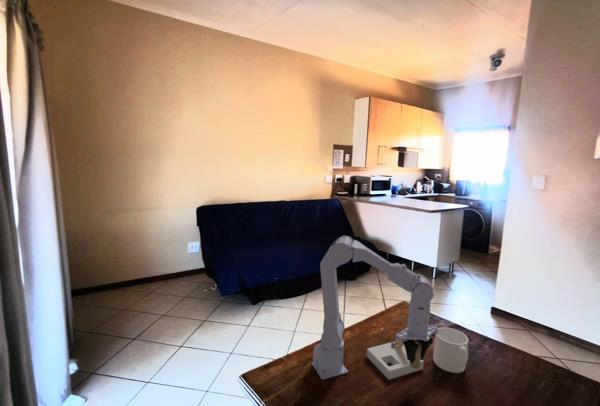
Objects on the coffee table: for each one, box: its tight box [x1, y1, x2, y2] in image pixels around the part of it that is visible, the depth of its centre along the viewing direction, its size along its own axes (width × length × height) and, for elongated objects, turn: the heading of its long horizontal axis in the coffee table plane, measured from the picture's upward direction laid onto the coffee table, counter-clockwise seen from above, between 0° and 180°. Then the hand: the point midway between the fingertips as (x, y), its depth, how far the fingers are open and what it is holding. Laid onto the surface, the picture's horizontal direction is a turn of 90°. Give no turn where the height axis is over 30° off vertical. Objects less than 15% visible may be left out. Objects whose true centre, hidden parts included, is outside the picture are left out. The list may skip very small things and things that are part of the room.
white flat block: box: [366, 340, 425, 381], centre depth 101 cm, size 14×12×4 cm
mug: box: [432, 327, 469, 374], centre depth 100 cm, size 13×10×10 cm
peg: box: [409, 340, 422, 369], centre depth 90 cm, size 3×3×7 cm
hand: (414, 359), depth 90 cm, fingers closed on peg, 3 cm apart
